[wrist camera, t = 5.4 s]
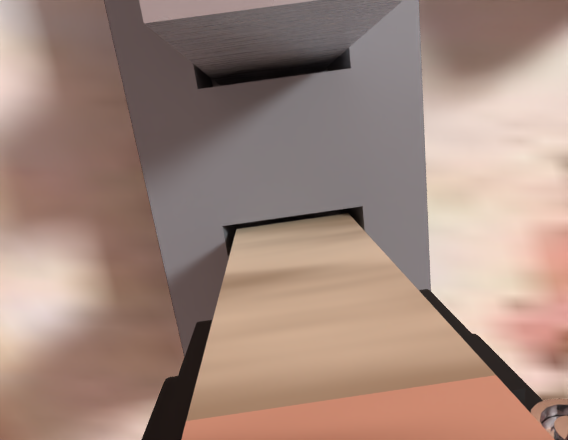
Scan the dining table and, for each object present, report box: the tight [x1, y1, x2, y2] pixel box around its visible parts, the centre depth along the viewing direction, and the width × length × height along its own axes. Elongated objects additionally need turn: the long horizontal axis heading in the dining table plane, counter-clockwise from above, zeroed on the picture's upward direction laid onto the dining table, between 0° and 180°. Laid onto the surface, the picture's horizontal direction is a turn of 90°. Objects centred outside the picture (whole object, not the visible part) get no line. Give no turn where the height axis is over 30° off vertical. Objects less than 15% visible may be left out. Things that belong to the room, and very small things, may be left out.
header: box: [104, 0, 431, 357], centre depth 16 cm, size 21×10×5 cm, turn 8°
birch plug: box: [181, 213, 555, 440], centre depth 10 cm, size 4×4×12 cm
